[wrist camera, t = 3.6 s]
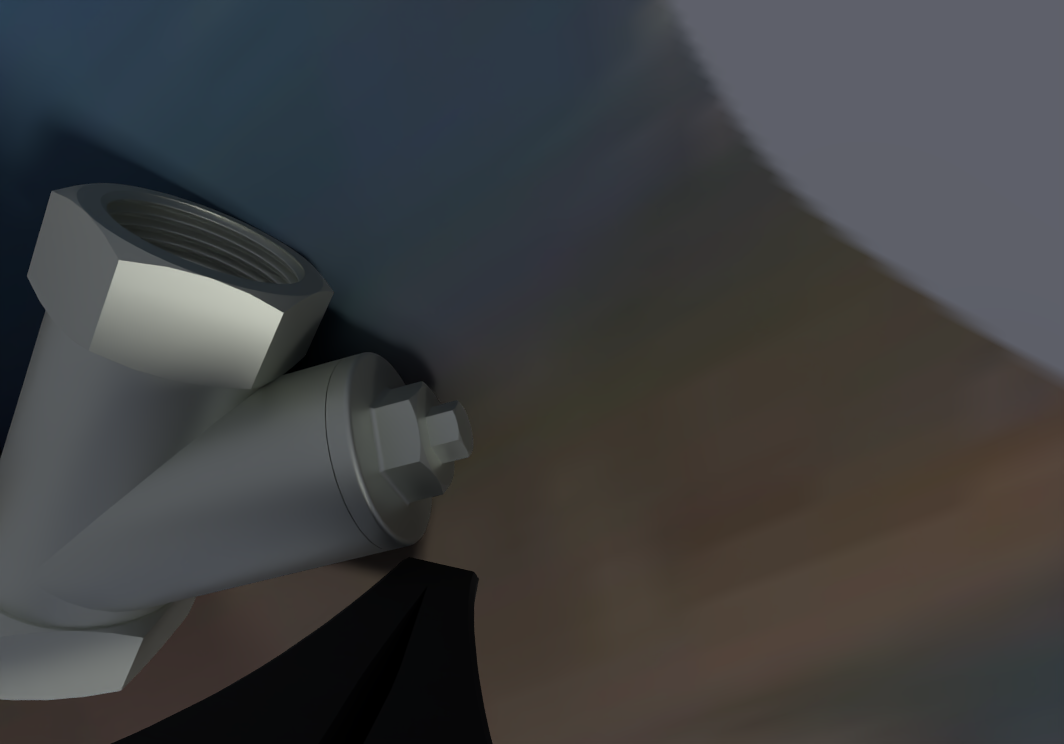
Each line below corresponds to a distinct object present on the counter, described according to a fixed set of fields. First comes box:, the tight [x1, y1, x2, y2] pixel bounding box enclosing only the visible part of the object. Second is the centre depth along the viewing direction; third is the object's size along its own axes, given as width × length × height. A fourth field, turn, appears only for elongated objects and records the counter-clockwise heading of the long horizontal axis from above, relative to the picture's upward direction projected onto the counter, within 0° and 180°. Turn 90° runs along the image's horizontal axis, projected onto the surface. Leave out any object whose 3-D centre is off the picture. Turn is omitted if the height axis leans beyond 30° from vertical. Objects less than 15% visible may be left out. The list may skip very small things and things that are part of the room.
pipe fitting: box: [0, 183, 473, 700], centre depth 10 cm, size 8×4×7 cm
